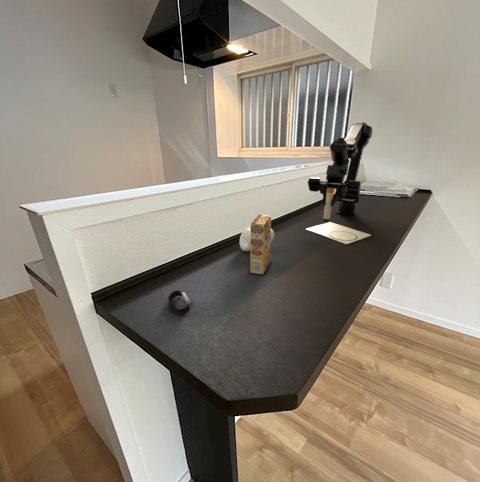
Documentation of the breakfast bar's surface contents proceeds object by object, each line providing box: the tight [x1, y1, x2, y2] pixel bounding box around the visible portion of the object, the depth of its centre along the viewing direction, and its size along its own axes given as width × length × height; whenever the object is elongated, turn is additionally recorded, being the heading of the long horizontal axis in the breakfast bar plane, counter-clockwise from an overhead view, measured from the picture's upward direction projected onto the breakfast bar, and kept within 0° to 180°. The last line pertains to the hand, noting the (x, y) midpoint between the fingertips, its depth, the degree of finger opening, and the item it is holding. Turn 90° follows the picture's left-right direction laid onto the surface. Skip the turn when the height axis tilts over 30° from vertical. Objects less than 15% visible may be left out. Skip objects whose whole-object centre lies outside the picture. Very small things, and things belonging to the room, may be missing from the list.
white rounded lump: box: [239, 223, 275, 253], centre depth 89 cm, size 11×12×9 cm
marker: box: [322, 188, 335, 223], centre depth 99 cm, size 2×2×12 cm
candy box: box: [250, 214, 272, 275], centre depth 77 cm, size 9×4×15 cm, turn 162°
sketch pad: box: [305, 221, 372, 245], centre depth 107 cm, size 20×16×1 cm
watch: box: [167, 290, 191, 315], centre depth 61 cm, size 8×5×4 cm, turn 33°
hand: (327, 205), depth 97 cm, fingers closed on marker, 2 cm apart
